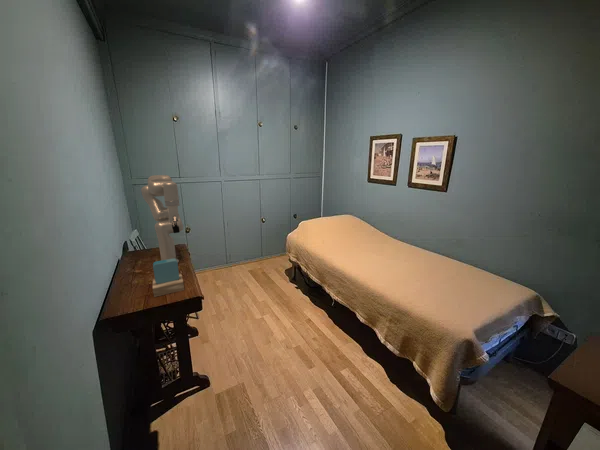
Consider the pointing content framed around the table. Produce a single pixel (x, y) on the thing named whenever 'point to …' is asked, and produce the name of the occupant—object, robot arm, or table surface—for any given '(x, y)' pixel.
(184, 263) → the table surface
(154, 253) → the table surface
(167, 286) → the birch riser block
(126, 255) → the table surface
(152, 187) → the robot arm
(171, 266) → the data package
